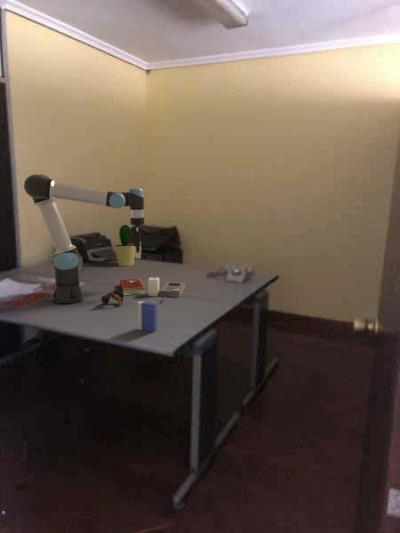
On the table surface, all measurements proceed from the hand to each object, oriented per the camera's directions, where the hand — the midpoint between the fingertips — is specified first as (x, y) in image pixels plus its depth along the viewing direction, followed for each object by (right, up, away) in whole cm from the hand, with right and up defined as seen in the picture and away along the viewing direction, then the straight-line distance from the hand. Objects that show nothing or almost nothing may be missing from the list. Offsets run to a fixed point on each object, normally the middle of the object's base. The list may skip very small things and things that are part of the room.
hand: (138, 255), depth 217 cm
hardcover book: (-5, -20, +6) cm, 21 cm away
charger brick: (+9, -21, -3) cm, 23 cm away
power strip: (+18, -21, -2) cm, 28 cm away
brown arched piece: (-10, -25, -22) cm, 35 cm away
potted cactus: (-20, -5, +72) cm, 75 cm away
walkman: (+12, -32, -54) cm, 64 cm away
